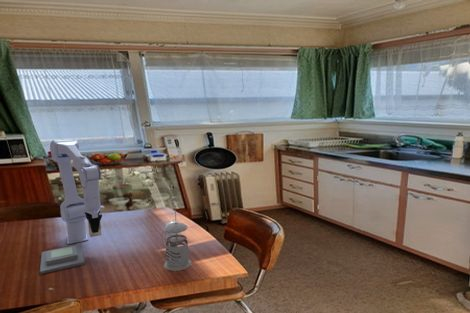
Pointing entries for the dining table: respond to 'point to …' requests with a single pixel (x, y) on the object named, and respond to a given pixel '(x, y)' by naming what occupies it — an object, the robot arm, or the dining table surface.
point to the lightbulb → (172, 233)
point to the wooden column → (94, 233)
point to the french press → (180, 259)
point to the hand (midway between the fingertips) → (94, 230)
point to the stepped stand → (61, 258)
